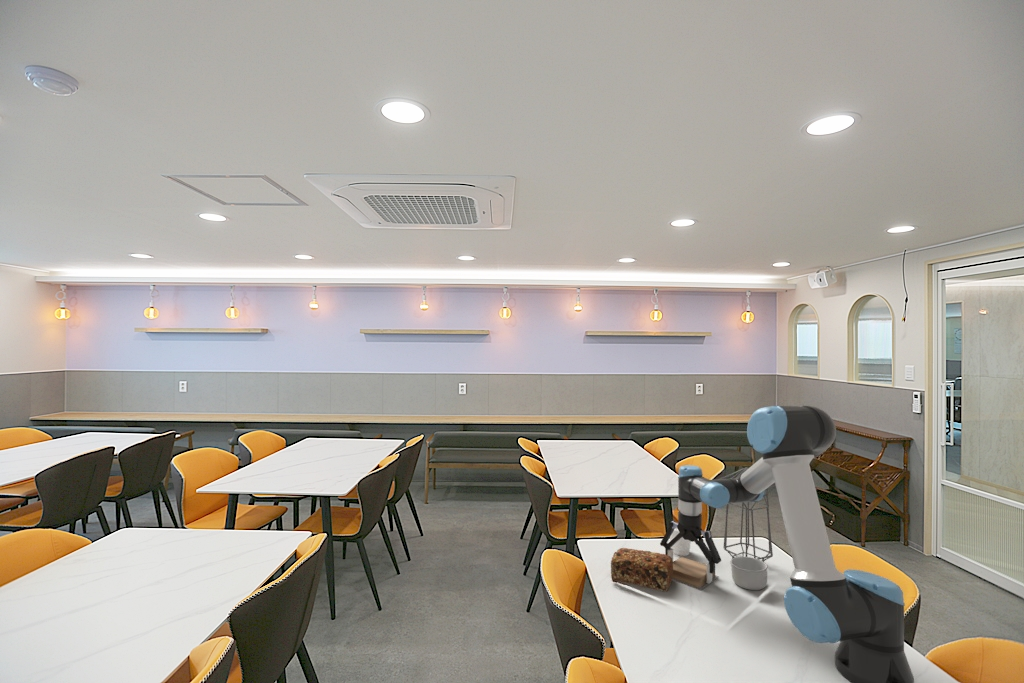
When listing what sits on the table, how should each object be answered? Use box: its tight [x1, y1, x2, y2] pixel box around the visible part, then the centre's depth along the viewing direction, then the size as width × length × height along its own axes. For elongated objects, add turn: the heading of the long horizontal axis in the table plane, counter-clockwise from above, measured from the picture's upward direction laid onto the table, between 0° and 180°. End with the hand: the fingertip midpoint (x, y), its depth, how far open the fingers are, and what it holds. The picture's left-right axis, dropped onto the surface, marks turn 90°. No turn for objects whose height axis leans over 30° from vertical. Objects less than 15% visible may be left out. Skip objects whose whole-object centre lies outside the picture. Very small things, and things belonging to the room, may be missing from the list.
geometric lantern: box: [719, 466, 776, 563], centre depth 178 cm, size 16×16×35 cm
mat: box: [672, 574, 720, 591], centre depth 165 cm, size 14×14×1 cm
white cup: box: [669, 528, 692, 557], centre depth 186 cm, size 8×8×10 cm
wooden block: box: [672, 556, 716, 588], centre depth 165 cm, size 12×12×3 cm
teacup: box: [730, 554, 768, 591], centre depth 162 cm, size 14×11×8 cm
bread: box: [610, 547, 674, 592], centre depth 163 cm, size 19×11×10 cm, turn 61°
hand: (689, 575), depth 166 cm, fingers open, 13 cm apart
